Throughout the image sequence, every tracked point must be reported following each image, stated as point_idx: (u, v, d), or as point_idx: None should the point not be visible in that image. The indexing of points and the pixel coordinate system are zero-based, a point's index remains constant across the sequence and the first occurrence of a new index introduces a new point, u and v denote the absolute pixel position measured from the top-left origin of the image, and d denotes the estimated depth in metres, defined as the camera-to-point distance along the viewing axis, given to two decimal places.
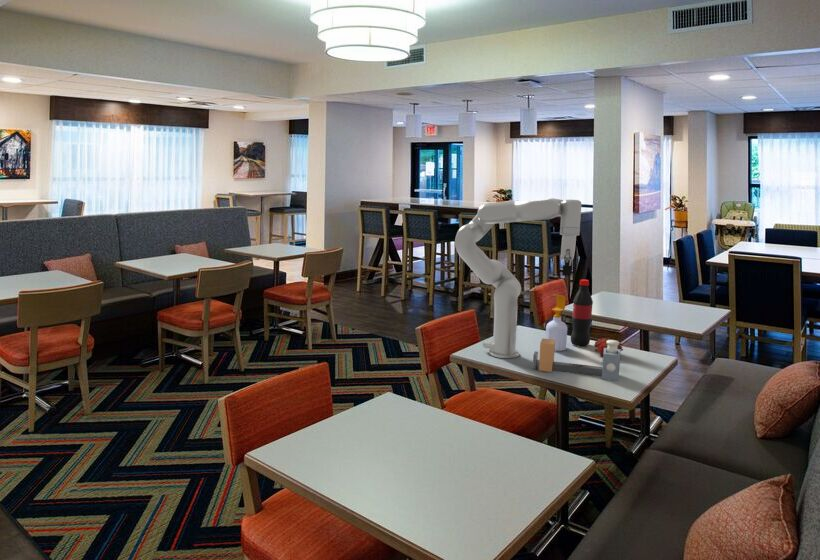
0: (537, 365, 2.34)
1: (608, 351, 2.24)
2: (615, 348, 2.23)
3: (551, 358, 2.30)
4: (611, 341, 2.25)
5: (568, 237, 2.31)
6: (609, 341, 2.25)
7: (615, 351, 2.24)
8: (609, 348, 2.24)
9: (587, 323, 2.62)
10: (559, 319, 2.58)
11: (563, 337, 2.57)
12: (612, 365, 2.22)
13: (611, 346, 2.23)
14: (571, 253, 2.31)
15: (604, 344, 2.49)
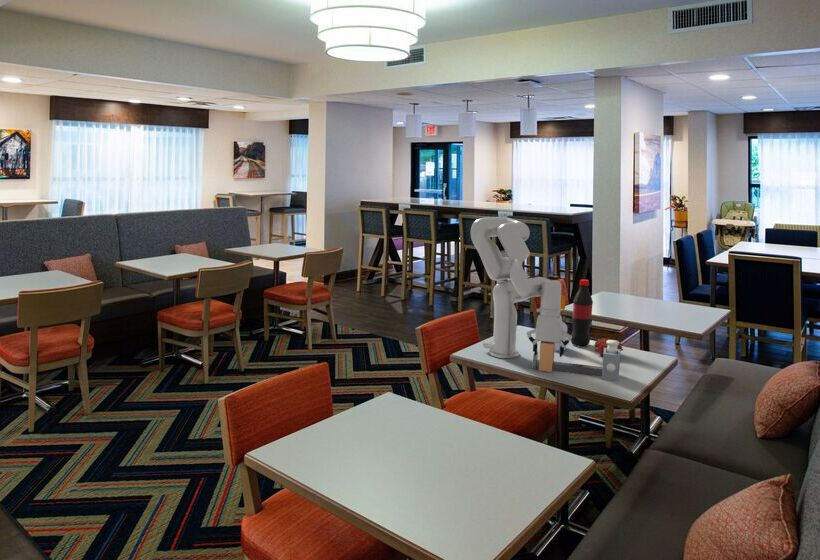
0: (537, 365, 2.34)
1: (608, 351, 2.24)
2: (615, 348, 2.23)
3: (551, 358, 2.30)
4: (611, 341, 2.25)
5: (561, 318, 2.29)
6: (609, 341, 2.25)
7: (615, 351, 2.24)
8: (609, 348, 2.24)
9: (587, 323, 2.62)
10: None
11: (563, 337, 2.57)
12: (612, 365, 2.22)
13: (611, 346, 2.23)
14: None
15: (604, 344, 2.49)
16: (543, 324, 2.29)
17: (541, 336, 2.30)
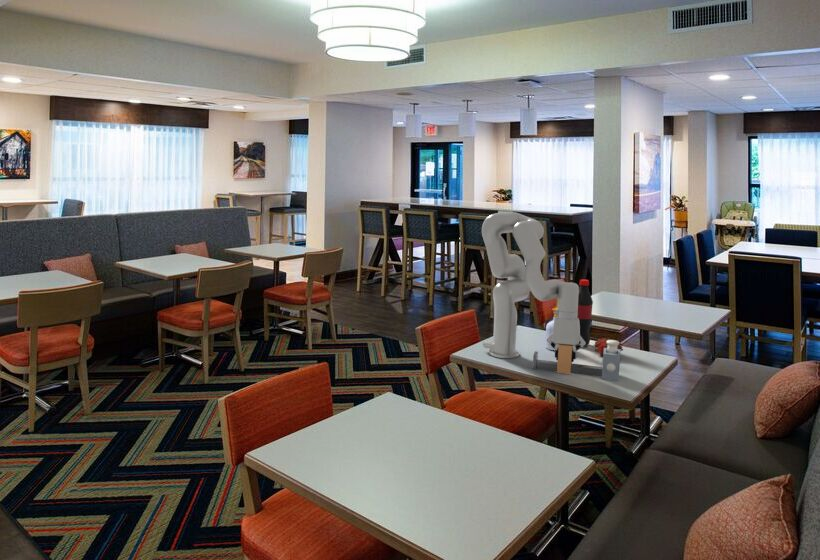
0: (537, 365, 2.34)
1: (608, 351, 2.24)
2: (615, 348, 2.23)
3: (569, 360, 2.27)
4: (611, 341, 2.25)
5: None
6: (609, 341, 2.25)
7: (615, 351, 2.24)
8: (609, 348, 2.24)
9: (587, 323, 2.62)
10: None
11: None
12: (612, 365, 2.22)
13: (611, 346, 2.23)
14: None
15: (604, 344, 2.49)
16: (560, 327, 2.27)
17: (558, 339, 2.28)
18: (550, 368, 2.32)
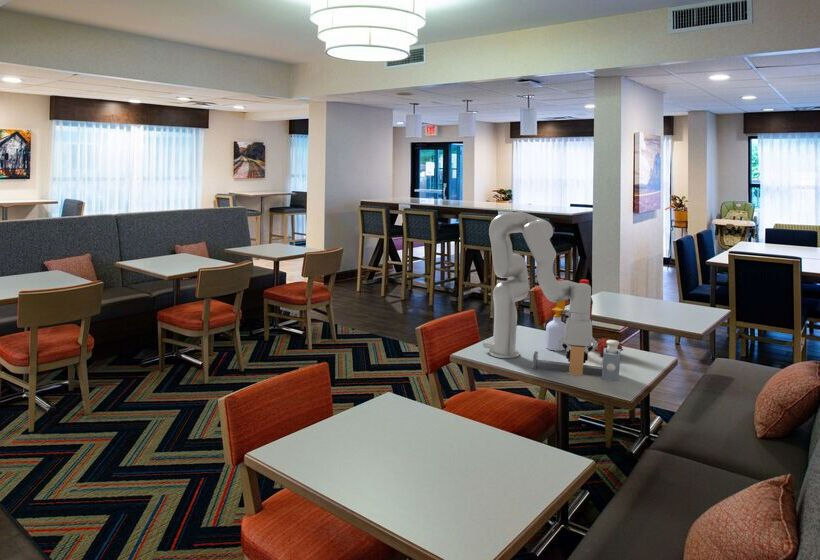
0: (537, 365, 2.34)
1: (608, 351, 2.24)
2: (615, 348, 2.23)
3: (582, 361, 2.26)
4: (611, 341, 2.25)
5: None
6: (609, 341, 2.25)
7: (615, 351, 2.24)
8: (609, 348, 2.24)
9: None
10: (559, 319, 2.58)
11: None
12: (612, 365, 2.22)
13: (611, 346, 2.23)
14: None
15: (604, 344, 2.49)
16: (572, 328, 2.25)
17: (570, 340, 2.26)
18: (550, 368, 2.32)
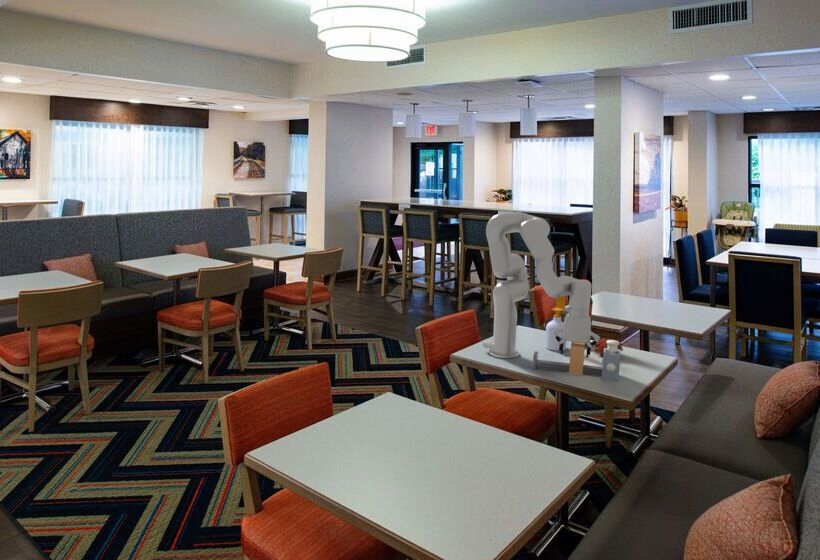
0: (537, 365, 2.34)
1: (608, 351, 2.24)
2: (615, 348, 2.23)
3: (582, 361, 2.26)
4: (611, 341, 2.25)
5: None
6: (609, 341, 2.25)
7: (615, 351, 2.24)
8: (609, 348, 2.24)
9: None
10: (559, 319, 2.58)
11: None
12: (612, 365, 2.22)
13: (611, 346, 2.23)
14: None
15: (604, 344, 2.49)
16: (571, 324, 2.26)
17: (568, 336, 2.27)
18: (550, 368, 2.32)
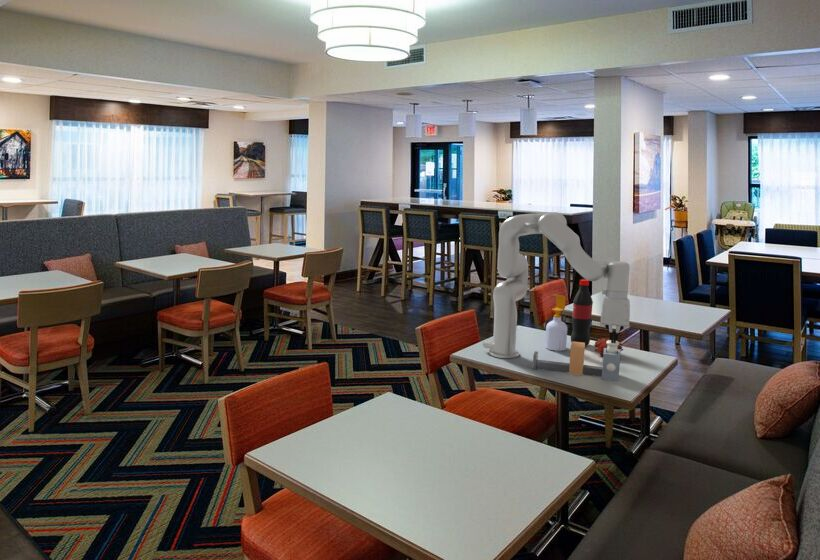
0: (537, 365, 2.34)
1: (608, 351, 2.25)
2: (615, 348, 2.23)
3: (582, 361, 2.26)
4: None
5: None
6: (609, 341, 2.25)
7: (615, 351, 2.24)
8: (609, 348, 2.24)
9: (587, 323, 2.62)
10: (559, 319, 2.58)
11: (563, 337, 2.57)
12: (612, 365, 2.22)
13: (611, 346, 2.23)
14: None
15: (604, 344, 2.49)
16: (609, 307, 2.20)
17: (607, 319, 2.21)
18: (550, 368, 2.32)
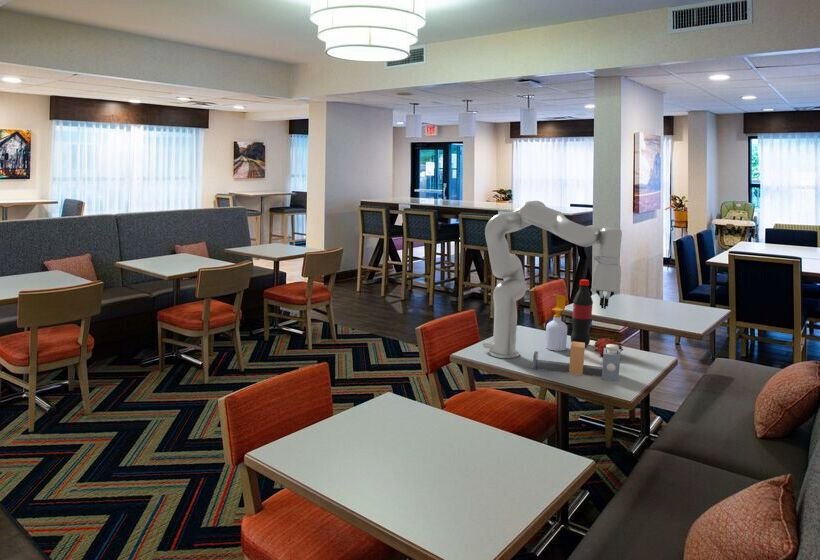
0: (537, 365, 2.34)
1: None
2: (615, 352, 2.24)
3: (582, 361, 2.26)
4: (611, 345, 2.25)
5: (620, 266, 2.22)
6: (609, 345, 2.25)
7: None
8: (609, 352, 2.24)
9: (587, 323, 2.62)
10: (559, 319, 2.58)
11: (563, 337, 2.57)
12: (612, 365, 2.22)
13: (611, 350, 2.24)
14: None
15: (604, 344, 2.49)
16: (601, 273, 2.22)
17: (598, 285, 2.23)
18: (550, 368, 2.32)
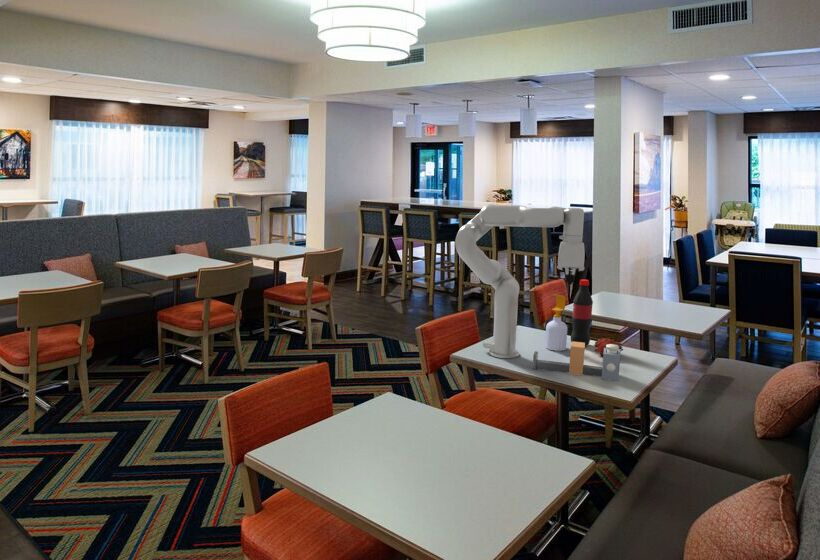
0: (537, 365, 2.34)
1: None
2: (615, 352, 2.24)
3: (582, 361, 2.26)
4: (611, 345, 2.25)
5: None
6: (609, 345, 2.25)
7: None
8: (609, 352, 2.24)
9: (587, 323, 2.62)
10: (559, 319, 2.58)
11: (563, 337, 2.57)
12: (612, 365, 2.22)
13: (611, 350, 2.24)
14: None
15: (604, 344, 2.49)
16: (565, 250, 2.36)
17: (563, 262, 2.37)
18: (550, 368, 2.32)
